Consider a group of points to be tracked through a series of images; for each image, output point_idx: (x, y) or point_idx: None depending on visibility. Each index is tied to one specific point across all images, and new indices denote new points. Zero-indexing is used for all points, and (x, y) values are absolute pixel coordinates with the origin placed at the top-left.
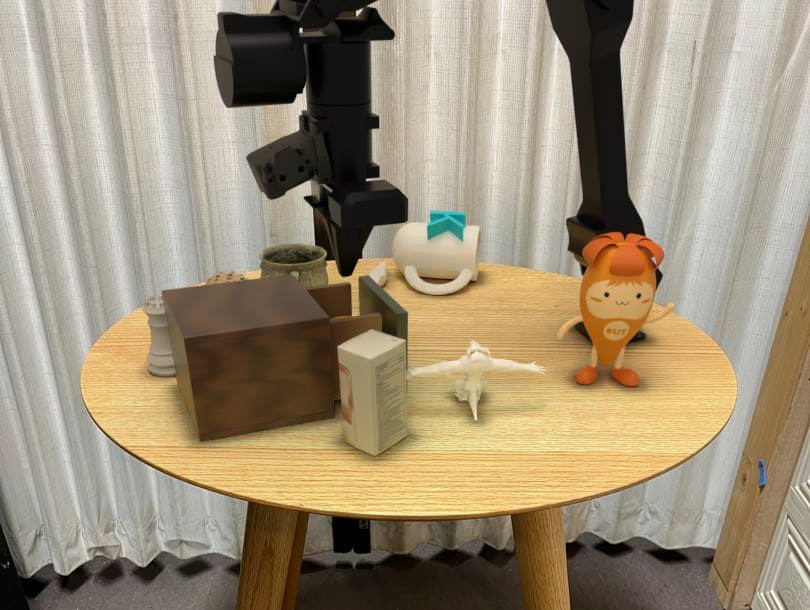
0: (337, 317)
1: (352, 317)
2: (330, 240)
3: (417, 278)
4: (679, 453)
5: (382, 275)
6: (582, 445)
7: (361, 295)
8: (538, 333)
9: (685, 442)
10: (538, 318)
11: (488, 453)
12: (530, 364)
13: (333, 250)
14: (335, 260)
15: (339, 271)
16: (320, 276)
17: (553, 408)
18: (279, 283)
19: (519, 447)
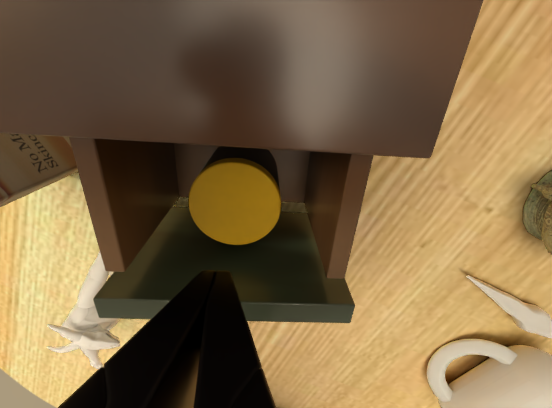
0: (276, 201)
1: (99, 209)
2: (229, 370)
3: (478, 353)
4: (9, 373)
5: (522, 326)
6: (30, 322)
7: (326, 277)
8: (286, 383)
9: (30, 383)
10: (319, 395)
11: (16, 243)
12: (94, 365)
13: (221, 330)
14: (230, 298)
15: (209, 277)
16: None
17: (115, 333)
18: (373, 77)
19: (29, 275)
